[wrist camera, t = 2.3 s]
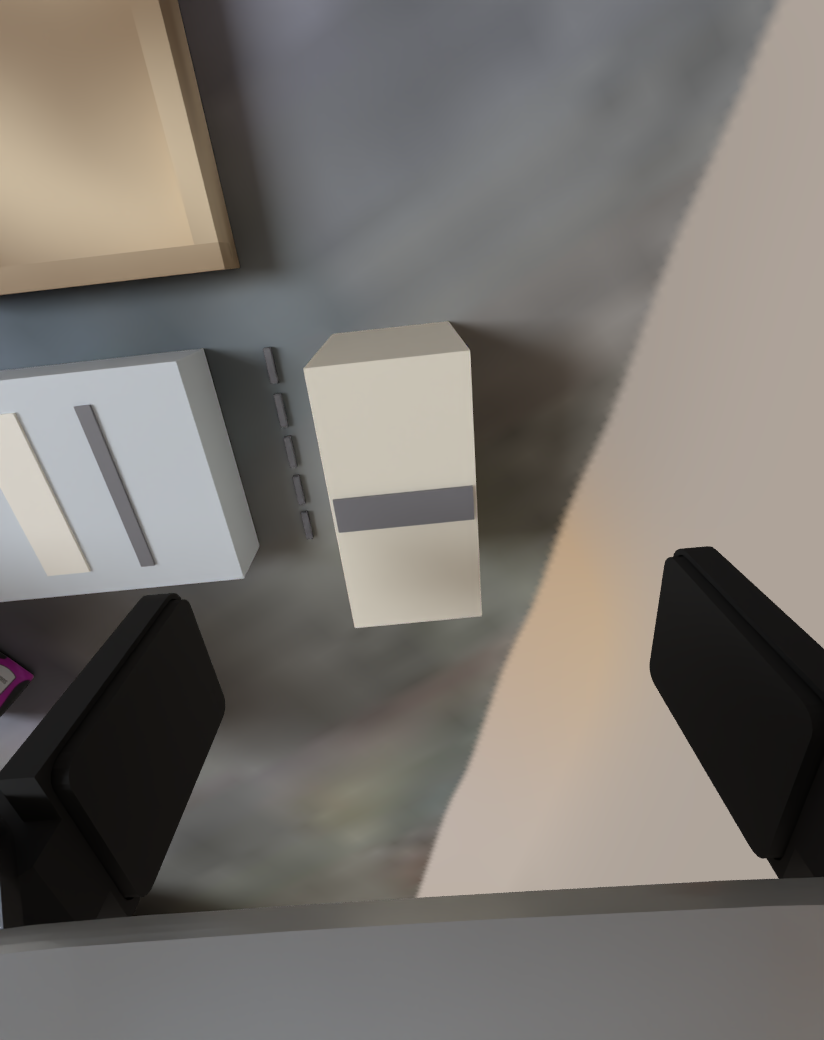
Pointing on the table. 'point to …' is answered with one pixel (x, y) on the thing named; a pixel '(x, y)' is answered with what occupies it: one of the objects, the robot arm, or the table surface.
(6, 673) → the candy bar box
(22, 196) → the tray
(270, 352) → the perforation
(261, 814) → the table surface
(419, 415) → the stub
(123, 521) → the striped square panel
